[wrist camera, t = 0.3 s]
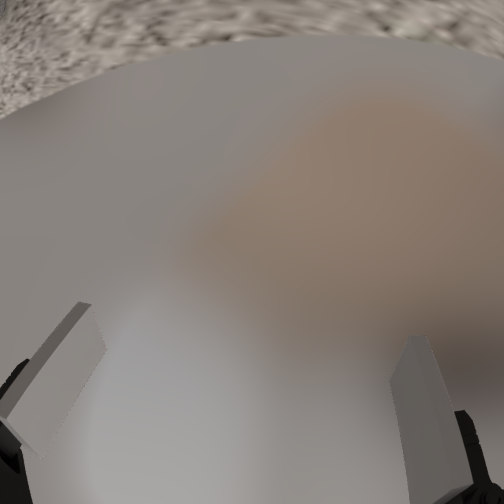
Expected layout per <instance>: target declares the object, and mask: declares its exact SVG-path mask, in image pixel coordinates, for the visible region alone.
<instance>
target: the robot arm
mask: <svg viewBox="0 0 504 504" xmlns="http://www.w3.org/2000/svg"><path fill="white" fill-rule="evenodd" d="M106 351H107V348H106V346H105V343H104V340H103V337H102V334H101V332H100V328H99V326H98V323H97V319H96V316H95V313H94V310H93V307H92V304H87V303H82V302H78V303H77V304H76V305H75V306H74V307H73V309H72V310H71V311H70V312H69V313H68V314H67V316H66V317H65V318H64V319H63V320H62V322H61V323H60V324H59V325H58V326H57V327H56V329H55V330H54V331H53V332H52V334H51V335H50V336H49V337H48V338H47V339H46V341H45V342H44V343H43V344H42V346H41V347H40V348H39V349H38V351H37V352H36V353H35V355H34V356H33V357H32V358H31V359H30V360H29V359H26V360H24V361H23V362H21V363H20V364H19V365H17V367H16V368H15V369H14V370H13V372H12V373H11V376H9V377H8V379H7V380H6V383H4V384H3V385H2V386H1V388H0V504H33V502H32V498H31V494H30V490H29V485H28V481H27V476H26V471H25V466H24V459H23V454H22V451H21V449H20V447H21V445H23V446H24V447H25V448H26V449H27V450H28V451H29V452H30V453H32V454H34V455H36V456H38V457H40V458H41V459H43V458H44V456H45V454H46V452H47V450H48V448H49V447H50V445H51V443H52V441H53V439H54V438H55V436H56V434H57V432H58V430H59V429H60V427H61V425H62V423H63V422H64V420H65V418H66V416H67V415H68V413H69V411H70V410H71V408H72V406H73V404H74V403H75V401H76V399H77V398H78V396H79V394H80V393H81V391H82V389H83V387H84V386H85V384H86V383H87V381H88V379H89V378H90V376H91V375H92V373H93V371H94V370H95V368H96V367H97V365H98V363H99V362H100V360H101V359H102V357H103V355H104V354H105V352H106ZM389 382H390V386H391V391H392V395H393V400H394V405H395V410H396V415H397V420H398V426H399V431H400V437H401V442H402V448H403V454H404V460H405V468H406V475H407V481H408V490H409V499H410V504H504V490H502V489H501V487H499V486H498V485H497V484H495V483H492V482H491V480H490V477H489V475H488V471H487V467H486V463H485V459H484V456H483V452H482V449H481V446H480V444H479V439H478V436H477V435H476V429H475V427H474V423H473V421H472V419H471V418H470V416H469V415H468V414H467V413H466V412H465V410H462V411H455V412H454V410H453V407H452V404H451V401H450V398H449V395H448V392H447V389H446V387H445V384H444V381H443V378H442V376H441V373H440V370H439V368H438V365H437V363H436V360H435V357H434V355H433V352H432V350H431V347H430V345H429V342H428V340H427V338H426V335H409V337H408V339H407V341H406V344H405V346H404V349H403V351H402V353H401V356H400V358H399V361H398V362H397V365H396V367H395V369H394V371H393V374H392V376H391V378H390V380H389Z"/></svg>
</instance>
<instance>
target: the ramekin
mask: <svg viewBox="0 0 504 504" xmlns="http://www.w3.org/2000/svg"><path fill="white" fill-rule="evenodd" d="M5 5H6V0H0V20H1V18H2V15H3V13H4V9H5Z"/></svg>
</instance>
